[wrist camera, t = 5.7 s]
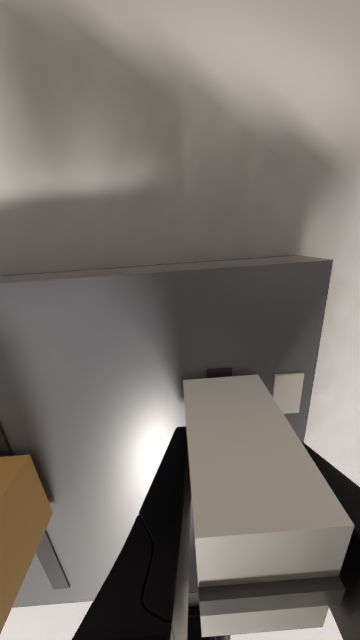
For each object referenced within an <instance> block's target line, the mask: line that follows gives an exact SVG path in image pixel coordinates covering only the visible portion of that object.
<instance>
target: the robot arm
mask: <svg viewBox="0 0 360 640" xmlns="http://www.w3.org/2000/svg"><path fill="white" fill-rule="evenodd" d="M300 441H301V440H300ZM301 442H302V441H301ZM302 444H303V446H304V447H305V449H306V450H307V452H308V453H309V455H310V457H311V458H312V460H313V461H314V463H315V464H316V466H317V467H318V469H319V471H320V472H321V474H322V475H323V477H324V478H325V480H326V482H327V483H328V485H329V486H330V488H331V489H332V491H333V493H334V494H335V496H336V497H337V499H338V500H339V502H340V503H341V505H342V507H343V508H344V510H345V511H346V513H347V514H348V516H349V518H350V519H351V521H352V522H353V524H354V525H355V526H354V529H353V532H352V535H351V538H350V542H349V545H348V548H347V551H346V554H345V557H344V561H343V564H342V567H341V570H340V573H339V577H340V579H341V581H342V583H343V585H344V587H345V589H346V590H345V593H344V596H343V598H342V601H341V604H340V605H329V607H330V610H331V612H332V614H333V617H334V619H335V621H336V624H337V626H338V628H339V631H340V633H341V635H342V638H343V640H360V487H359V486H358V485H356V484H355V483H354V482H353V481H351V480H350V479H349V478H347V477H346V476H345V475H344V474H342V473H341V472H340V471H339V470H337V469H336V468H335V467H334V466H332V465H331V464H330V463H329V462H327V461H326V460H325V459H324V458H322V457H321V456H320V455H319V454H317V453H316V452H315V451H313V450H312V449H311V448H310V447H308V446H307V445H306V444H305V443H303V442H302ZM190 525H191V484H190V470H189V456H188V443H187V430H186V426H182V427H176V429H175V431H174V433H173V435H172V438H171V440H170V442H169V445H168V447H167V449H166V451H165V454H164V456H163V458H162V461H161V463H160V465H159V467H158V470H157V472H156V474H155V476H154V479H153V481H152V483H151V486H150V488H149V490H148V492H147V495H146V497H145V499H144V502H143V504H142V506H141V508H140V511H139V515H137V517H136V519H135V522H134V524H133V526H132V529H131V531H130V533H129V535H128V537H127V539H126V541H125V543H124V546H123V548H122V550H121V552H120V553H119V555H118V557H117V559H116V561H115V563H114V565H113V567H112V569H111V570H110V572H109V574H108V576H107V578H106V579H105V581H104V583H103V585H102V587H101V588H100V590H99V592H98V594H97V596H96V597H95V599H94V601H93V603H92V605H91V606H90V608H89V610H88V612H87V614H86V615H85V617H84V619H83V621H82V623H81V624H80V626H79V628H78V630H77V632H76V633H75V635H74V637H73V638H72V640H230V635H223V636H211V637H202V633H201V620H200V608H199V609H188V593H189V559H190Z"/></svg>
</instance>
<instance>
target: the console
mask: <svg viewBox="0 0 360 640" xmlns="http://www.w3.org/2000/svg"><path fill="white" fill-rule="evenodd" d="M332 263H333V260H329V259H321V258H313V257H305V256H297V255H293V256H279V257H264V258H250V259H236V260H222V261H208V262H194V263H179V264H165V265H151V266H137V267H123V268H108V269H94V270H80V271H66V272H52V273H38V274H23V275H9V276H0V457H5V456H17V455H30V456H31V459H32V461H33V464H34V466H35V469H36V471H37V474H38V476H39V479H40V481H41V484H42V486H43V489H44V491H45V494H46V496H47V499H48V501H49V504H50V506H51V509H52V512H53V514H52V517H51V519H50V521H49V523H48V526H47V528H46V530H45V533H44V535H43V537H42V539H41V542H40V544H39V546H38V549H37V551H36V553H35V555H34V558H33V560H32V562H31V565H30V567H29V569H28V572H27V574H26V576H25V578H24V581H23V583H22V585H21V588H20V590H19V592H18V594H17V597H16V599H15V601H14V604H13V606H12V608H13V607H25V606H37V605H50V604H62V603H74V602H86V601H94V599H95V597H96V596H97V594H98V592H99V590H100V588H101V587H102V585H103V583H104V581H105V579H106V578H107V576H108V574H109V572H110V570H111V569H112V567H113V565H114V563H115V561H116V559H117V557H118V555H119V553H120V552H121V550H122V548H123V546H124V543H125V541H126V539H127V537H128V535H129V533H130V531H131V529H132V526H133V524H134V522H135V519H136V517H137V515H139V511H140V508H141V506H142V504H143V502H144V499H145V497H146V495H147V492H148V490H149V488H150V486H151V483H152V481H153V479H154V476H155V474H156V472H157V470H158V467H159V465H160V463H161V461H162V458H163V456H164V454H165V451H166V449H167V447H168V445H169V442H170V440H171V438H172V435H173V433H174V431H175V429H176V427H182V426H186V417H185V403H184V389H183V380H191V379H204V378H218V377H231V376H244V375H259V377H260V378H261V380H262V381H263V383H264V384H265V386H266V388H267V389H268V391H269V392H270V394H271V395H272V397H273V399H274V400H275V402H276V403H277V405H278V406H279V408H280V410H281V411H282V413H283V414H284V416H285V417H286V419H287V420H288V422H289V424H290V425H291V427H292V428H293V430H294V431H295V433H296V435H297V436H298V438H299V439H300V440H301V441H302V442H303V443H304V437H305V431H306V424H307V418H308V412H309V406H310V400H311V393H312V387H313V381H314V375H315V369H316V362H317V356H318V350H319V344H320V337H321V331H322V325H323V319H324V313H325V306H326V300H327V294H328V288H329V282H330V275H331V269H332ZM194 592H198V579H197V566H196V552H195V539H194V525H193V512H192V499H191V525H190V559H189V593H194Z"/></svg>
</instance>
